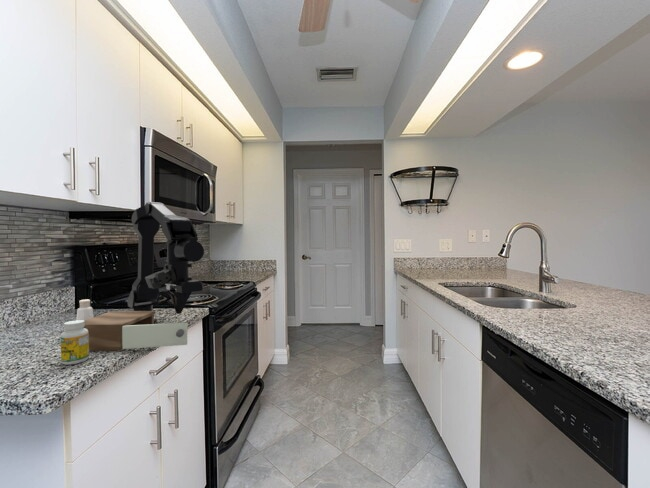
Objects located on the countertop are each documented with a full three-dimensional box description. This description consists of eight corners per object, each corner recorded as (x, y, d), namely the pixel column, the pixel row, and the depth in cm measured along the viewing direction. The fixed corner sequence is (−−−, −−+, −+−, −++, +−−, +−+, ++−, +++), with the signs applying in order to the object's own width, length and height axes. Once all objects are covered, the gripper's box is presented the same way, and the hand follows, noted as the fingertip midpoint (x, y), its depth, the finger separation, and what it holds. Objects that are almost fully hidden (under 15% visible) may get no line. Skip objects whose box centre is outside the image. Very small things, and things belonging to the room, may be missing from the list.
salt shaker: (82, 338, 94) (82, 302, 94) (69, 336, 95) (69, 301, 95) (100, 333, 99) (99, 298, 99) (87, 331, 101) (87, 298, 100)
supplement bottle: (94, 357, 78) (93, 319, 78) (74, 365, 73) (73, 325, 73) (76, 356, 79) (75, 318, 79) (54, 364, 74) (54, 324, 74)
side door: (187, 343, 86) (187, 322, 86) (185, 346, 84) (185, 324, 84) (123, 347, 83) (123, 325, 83) (120, 350, 81) (120, 327, 81)
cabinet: (111, 332, 99) (111, 311, 99) (155, 332, 99) (155, 310, 99) (70, 350, 83) (70, 324, 83) (122, 350, 83) (122, 324, 83)
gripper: (136, 260, 91) (136, 313, 91) (163, 263, 79) (163, 324, 79) (174, 259, 100) (175, 307, 100) (204, 261, 88) (204, 316, 88)
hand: (178, 313), depth 91 cm, fingers closed
